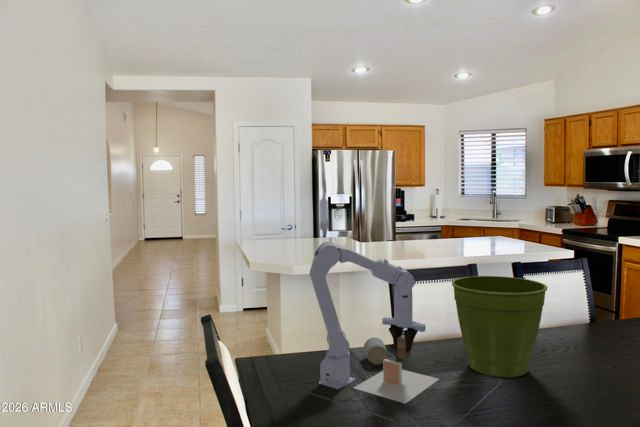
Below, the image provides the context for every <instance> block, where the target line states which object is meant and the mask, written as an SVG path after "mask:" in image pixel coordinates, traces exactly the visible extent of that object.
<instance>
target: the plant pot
mask: <svg viewBox="0 0 640 427" xmlns="http://www.w3.org/2000/svg"><path fill="white" fill-rule="evenodd" d="M451 285H452V287H453V295H454V296H453V297H454V301H455V306H456V312H457V318H458V319H457V320H458V323H459V328H460V332H461V338H462V340H463V344H464V349H465V352H466V355H467V365H468V367H469V368H470V369H471V370H473V371H475V372H477V373H479V374H483V375H486V376H489V377H496V378H517V377H521V376H524V375H525V374H527V373H528V372H529V370H530V360H531V358H532V354H533V352H534V348H535V344H536V341H537V337H538V333H539V330H540V329H539V328H540V325H541V324H540V323H541V321H542V313H543V309H544V308H543V307H544V306H545V298H546V292H547V291H548V286H547V285H546V284H545V283H543V282H539V281H536V280H533V279H528V278H521V277H513V276H501V275H500V276H499V275H477V276H475V275H474V276H465V277H459V278H456V279H454V280H452V281H451Z"/></svg>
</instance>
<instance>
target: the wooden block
mask: <svg viewBox="0 0 640 427" xmlns="http://www.w3.org/2000/svg"><path fill="white" fill-rule="evenodd" d="M396 353H397V354H396V355H397V356H396V357H397V358H399V359H403V360H406V359H409V358H410V357H411V351H409V352H406V342H405V335H404V334H402V335H401V336H398V337H397V352H396Z"/></svg>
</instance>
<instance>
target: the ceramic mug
mask: <svg viewBox="0 0 640 427" xmlns="http://www.w3.org/2000/svg"><path fill="white" fill-rule="evenodd" d="M363 352H364V354H365V357H366V358H367V360H368V362H369V363H371V364H372V365H374V366H375V365H376V366H379V365H380V366H381V365H383V360H384V359H388V360H392V361H396V356H394V355H393V354H392V353H390V352H389V351H387V348H386V345H385V343H384V342H383V340H382V339H381V338H378V337H370V338H368V339H367V340H366V341H365V342H364V345H363Z"/></svg>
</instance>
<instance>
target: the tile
mask: <svg viewBox="0 0 640 427" xmlns="http://www.w3.org/2000/svg"><path fill="white" fill-rule="evenodd" d="M382 367H383V369H382V371H383V382H385V383H389V384H393V385H396V386H402V370H403V362H400V361H396V360H395V361H392V360H388V359H384V360H383V364H382Z"/></svg>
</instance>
